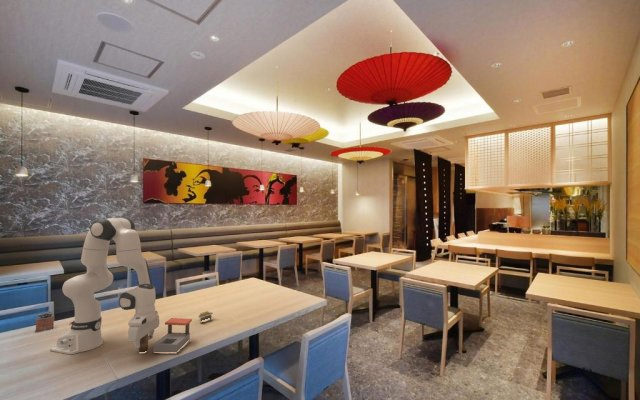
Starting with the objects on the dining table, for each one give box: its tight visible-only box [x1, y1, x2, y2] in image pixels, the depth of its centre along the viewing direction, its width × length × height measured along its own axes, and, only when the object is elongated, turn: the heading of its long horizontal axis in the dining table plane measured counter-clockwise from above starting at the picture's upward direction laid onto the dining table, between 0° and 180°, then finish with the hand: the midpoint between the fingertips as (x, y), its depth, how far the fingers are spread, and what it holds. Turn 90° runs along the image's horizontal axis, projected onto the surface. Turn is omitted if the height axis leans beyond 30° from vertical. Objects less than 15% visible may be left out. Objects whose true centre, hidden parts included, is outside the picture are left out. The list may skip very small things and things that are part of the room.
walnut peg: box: [138, 333, 149, 353], centre depth 149 cm, size 4×4×10 cm
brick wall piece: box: [35, 312, 55, 333], centre depth 173 cm, size 8×3×10 cm, turn 135°
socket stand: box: [152, 317, 193, 352], centre depth 156 cm, size 12×16×12 cm
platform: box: [198, 310, 214, 322], centre depth 191 cm, size 12×18×7 cm, turn 147°
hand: (144, 343), depth 149 cm, fingers open, 8 cm apart
